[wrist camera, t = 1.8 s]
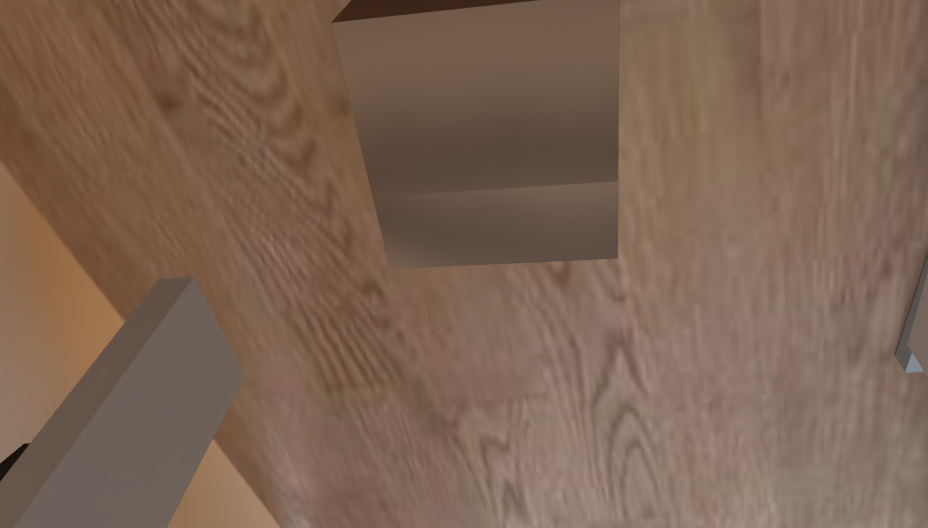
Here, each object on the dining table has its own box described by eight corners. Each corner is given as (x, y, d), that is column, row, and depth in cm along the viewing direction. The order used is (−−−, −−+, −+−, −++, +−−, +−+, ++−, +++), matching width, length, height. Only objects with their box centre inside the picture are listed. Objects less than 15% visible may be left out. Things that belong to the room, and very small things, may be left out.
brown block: (398, -80, 24) (323, -11, 16) (594, -106, 23) (619, -46, 15) (435, 141, 29) (392, 279, 21) (597, 129, 28) (617, 269, 20)
